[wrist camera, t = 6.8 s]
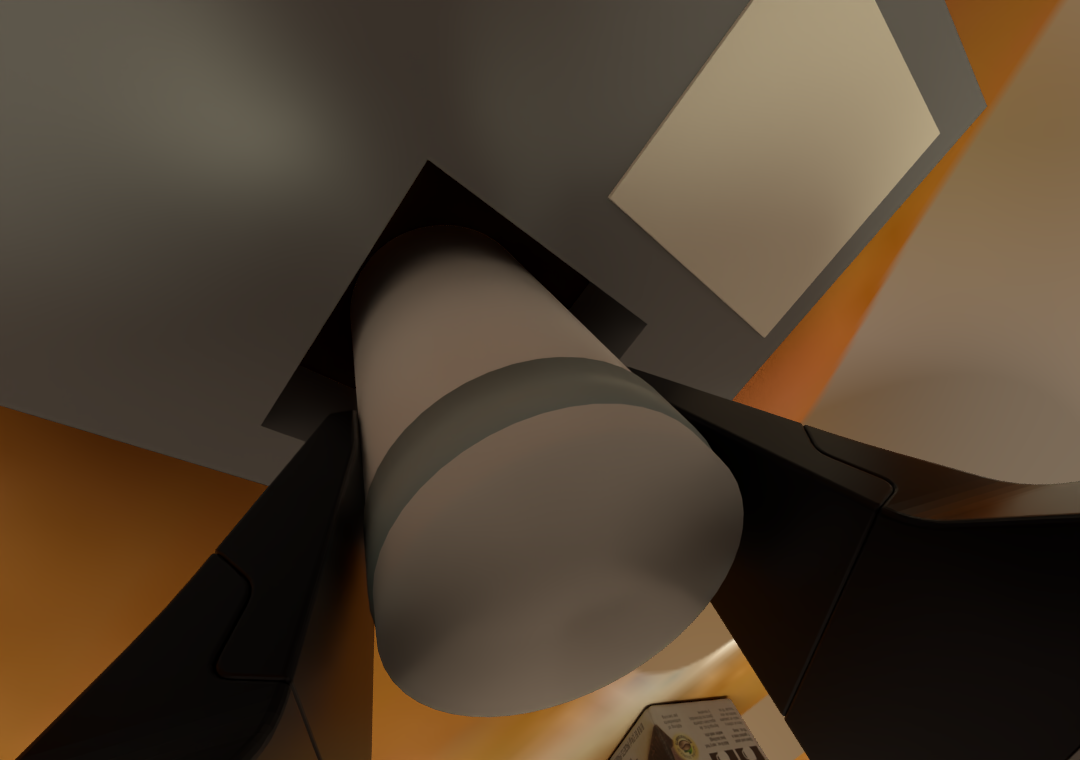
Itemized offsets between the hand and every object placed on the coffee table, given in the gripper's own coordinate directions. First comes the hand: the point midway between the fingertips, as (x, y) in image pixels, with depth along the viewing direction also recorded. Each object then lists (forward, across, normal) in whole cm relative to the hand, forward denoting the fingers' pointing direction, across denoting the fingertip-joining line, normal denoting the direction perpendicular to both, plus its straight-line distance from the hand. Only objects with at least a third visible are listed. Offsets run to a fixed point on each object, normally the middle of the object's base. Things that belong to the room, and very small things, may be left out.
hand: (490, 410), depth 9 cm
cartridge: (+4, 0, 0) cm, 4 cm away
